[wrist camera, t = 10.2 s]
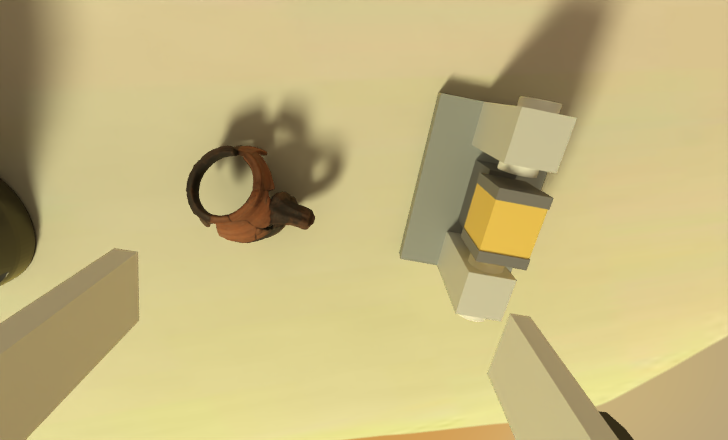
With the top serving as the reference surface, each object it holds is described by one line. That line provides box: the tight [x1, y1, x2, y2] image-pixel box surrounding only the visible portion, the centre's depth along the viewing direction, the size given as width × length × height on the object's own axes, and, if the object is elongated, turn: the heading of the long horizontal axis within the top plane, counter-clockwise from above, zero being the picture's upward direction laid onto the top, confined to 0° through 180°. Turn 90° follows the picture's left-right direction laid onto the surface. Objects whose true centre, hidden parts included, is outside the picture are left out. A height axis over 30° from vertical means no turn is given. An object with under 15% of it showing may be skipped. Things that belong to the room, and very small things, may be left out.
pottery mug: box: [186, 146, 315, 243], centre depth 36 cm, size 12×10×8 cm
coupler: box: [461, 173, 553, 270], centre depth 30 cm, size 4×6×5 cm
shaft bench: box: [399, 93, 577, 322], centre depth 34 cm, size 12×18×10 cm, turn 169°
